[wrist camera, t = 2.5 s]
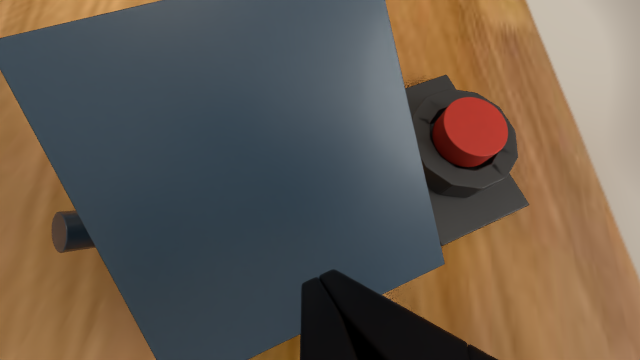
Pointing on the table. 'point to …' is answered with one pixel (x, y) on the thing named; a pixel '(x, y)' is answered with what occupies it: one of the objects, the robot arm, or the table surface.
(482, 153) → the red button
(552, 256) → the table surface
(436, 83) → the push button switch
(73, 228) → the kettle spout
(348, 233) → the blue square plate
